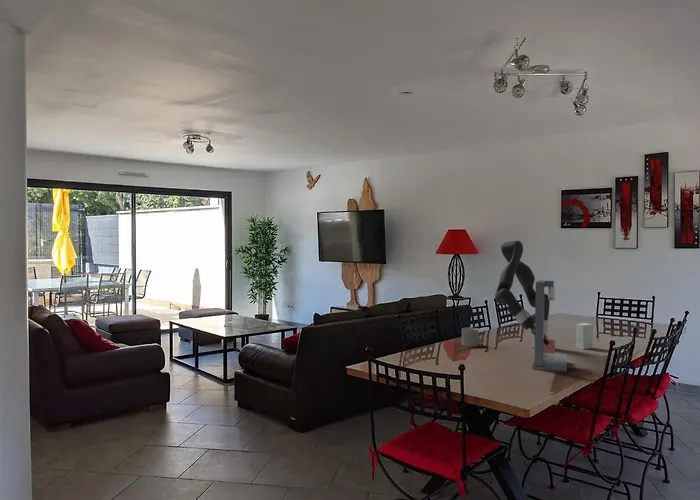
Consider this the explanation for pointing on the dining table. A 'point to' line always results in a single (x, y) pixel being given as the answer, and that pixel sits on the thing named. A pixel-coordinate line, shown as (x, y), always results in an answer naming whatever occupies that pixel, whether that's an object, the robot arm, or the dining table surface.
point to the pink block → (550, 346)
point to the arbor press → (543, 359)
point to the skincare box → (584, 336)
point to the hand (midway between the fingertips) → (548, 343)
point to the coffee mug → (470, 337)
